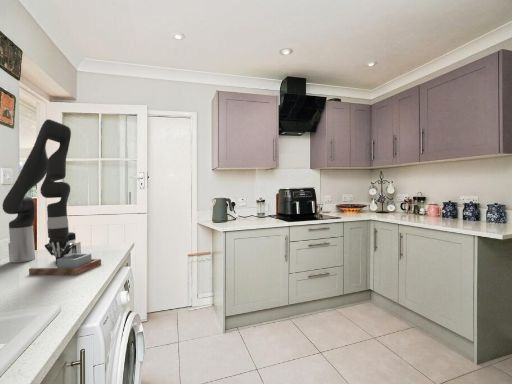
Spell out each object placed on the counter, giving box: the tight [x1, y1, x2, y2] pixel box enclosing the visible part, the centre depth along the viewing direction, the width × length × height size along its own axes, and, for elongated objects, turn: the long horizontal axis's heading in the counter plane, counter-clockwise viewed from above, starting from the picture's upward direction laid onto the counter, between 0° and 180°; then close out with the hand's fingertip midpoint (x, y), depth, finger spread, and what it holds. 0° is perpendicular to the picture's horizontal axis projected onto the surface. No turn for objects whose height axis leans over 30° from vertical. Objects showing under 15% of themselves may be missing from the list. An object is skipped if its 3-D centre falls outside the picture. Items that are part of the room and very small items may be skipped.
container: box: [61, 231, 82, 257], centre depth 138 cm, size 8×8×13 cm
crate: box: [56, 253, 93, 268], centre depth 120 cm, size 9×9×6 cm
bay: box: [28, 258, 102, 276], centre depth 120 cm, size 22×15×2 cm
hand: (60, 264), depth 120 cm, fingers closed
